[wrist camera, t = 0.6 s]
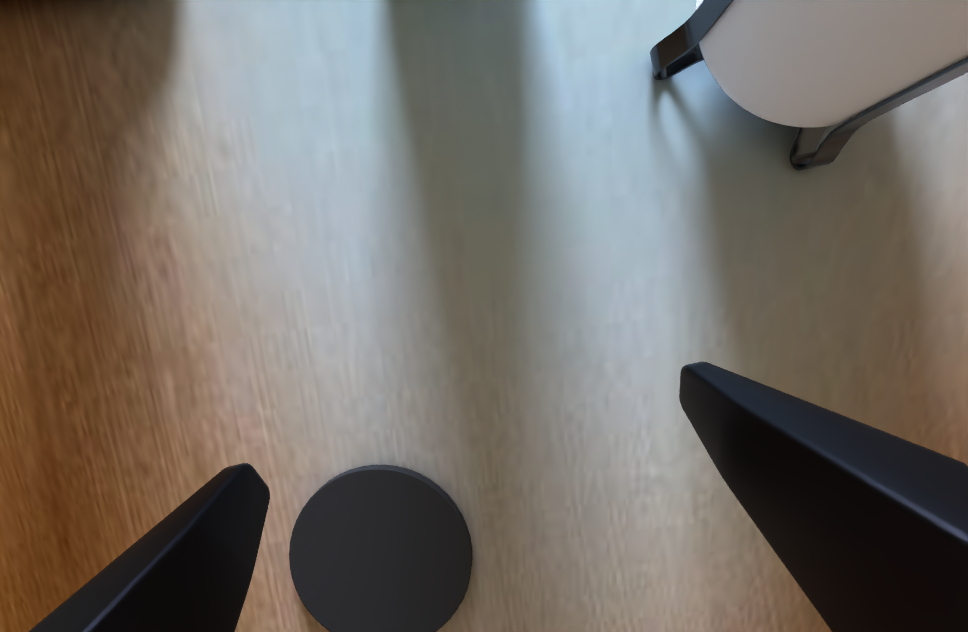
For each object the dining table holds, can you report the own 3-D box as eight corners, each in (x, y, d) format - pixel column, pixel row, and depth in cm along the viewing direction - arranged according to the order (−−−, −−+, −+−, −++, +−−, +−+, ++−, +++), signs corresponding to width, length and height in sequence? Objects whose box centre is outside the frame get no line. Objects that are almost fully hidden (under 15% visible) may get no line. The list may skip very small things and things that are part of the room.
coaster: (504, 592, 22) (504, 601, 22) (346, 668, 23) (342, 678, 22) (419, 433, 22) (417, 437, 21) (262, 513, 23) (256, 519, 22)
